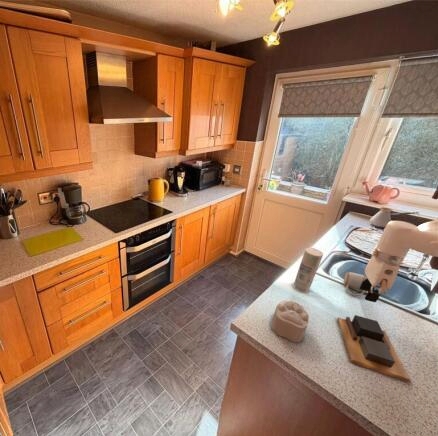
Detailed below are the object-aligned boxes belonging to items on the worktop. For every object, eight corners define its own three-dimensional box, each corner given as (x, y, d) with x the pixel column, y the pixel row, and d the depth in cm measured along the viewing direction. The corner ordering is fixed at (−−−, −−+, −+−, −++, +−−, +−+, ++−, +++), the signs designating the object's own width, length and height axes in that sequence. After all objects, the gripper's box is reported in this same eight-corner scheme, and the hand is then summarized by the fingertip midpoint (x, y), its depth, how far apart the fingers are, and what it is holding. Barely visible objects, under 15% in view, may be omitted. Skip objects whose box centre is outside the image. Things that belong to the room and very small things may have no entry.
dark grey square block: (372, 328, 86) (377, 321, 84) (379, 342, 81) (384, 335, 79) (351, 322, 88) (355, 314, 87) (356, 335, 83) (360, 328, 81)
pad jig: (383, 333, 86) (388, 325, 84) (408, 381, 70) (415, 373, 68) (337, 319, 91) (341, 311, 89) (351, 362, 76) (355, 353, 74)
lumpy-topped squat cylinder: (269, 330, 86) (274, 313, 83) (275, 308, 96) (280, 292, 92) (301, 345, 81) (309, 328, 77) (304, 320, 91) (311, 304, 87)
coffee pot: (367, 225, 168) (375, 206, 161) (369, 220, 175) (377, 202, 168) (409, 235, 154) (420, 215, 147) (409, 230, 161) (420, 210, 154)
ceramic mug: (341, 280, 112) (347, 267, 109) (363, 287, 108) (370, 274, 105) (342, 292, 105) (348, 279, 101) (366, 300, 100) (373, 287, 97)
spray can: (312, 289, 107) (326, 253, 98) (304, 294, 104) (318, 257, 95) (297, 281, 112) (309, 246, 103) (290, 286, 109) (302, 250, 100)
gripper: (415, 272, 72) (389, 314, 79) (391, 246, 86) (371, 284, 93) (383, 266, 75) (361, 307, 82) (365, 241, 89) (348, 279, 96)
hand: (367, 294), depth 88 cm, fingers open, 5 cm apart
